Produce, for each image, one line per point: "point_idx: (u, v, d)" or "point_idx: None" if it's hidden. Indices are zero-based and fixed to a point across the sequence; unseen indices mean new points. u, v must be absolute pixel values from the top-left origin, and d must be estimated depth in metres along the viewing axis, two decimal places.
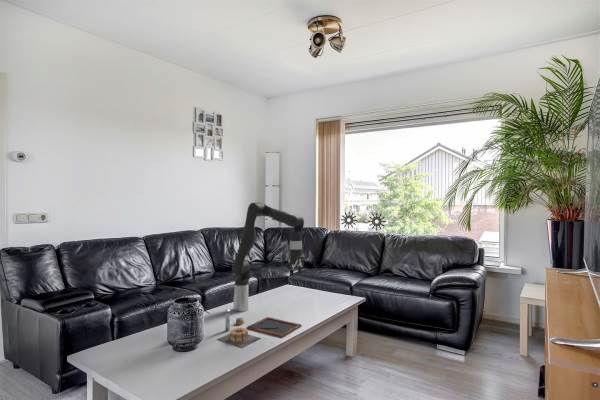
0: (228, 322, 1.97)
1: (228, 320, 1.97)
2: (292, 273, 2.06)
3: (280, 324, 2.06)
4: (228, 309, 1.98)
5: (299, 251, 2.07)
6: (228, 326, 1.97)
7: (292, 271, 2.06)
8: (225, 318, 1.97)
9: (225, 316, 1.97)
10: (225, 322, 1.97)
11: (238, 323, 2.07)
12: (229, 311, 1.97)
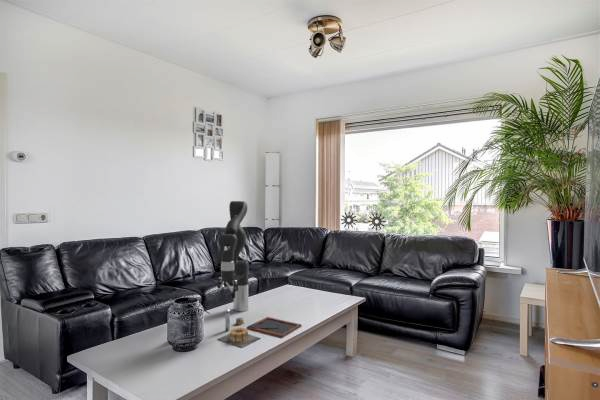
0: (228, 322, 1.97)
1: (228, 320, 1.97)
2: None
3: (280, 324, 2.06)
4: (228, 309, 1.98)
5: None
6: (228, 326, 1.97)
7: None
8: (225, 318, 1.97)
9: (225, 316, 1.97)
10: (225, 322, 1.97)
11: (238, 323, 2.07)
12: (229, 311, 1.97)
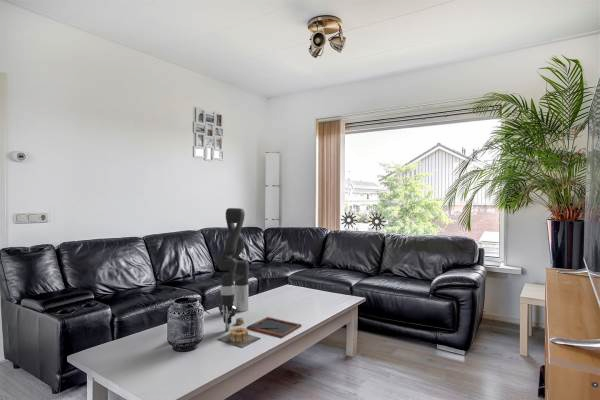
0: None
1: None
2: None
3: (280, 324, 2.06)
4: None
5: None
6: (228, 326, 1.97)
7: None
8: (225, 318, 1.97)
9: (225, 316, 1.97)
10: (225, 322, 1.97)
11: (238, 323, 2.07)
12: None
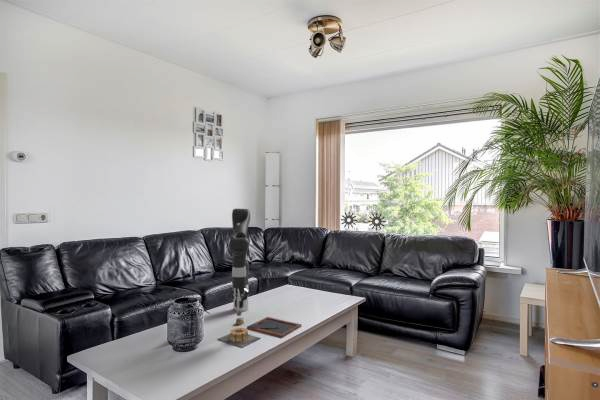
0: None
1: None
2: None
3: (280, 324, 2.06)
4: None
5: None
6: (240, 310, 1.85)
7: None
8: None
9: None
10: None
11: (238, 323, 2.07)
12: None
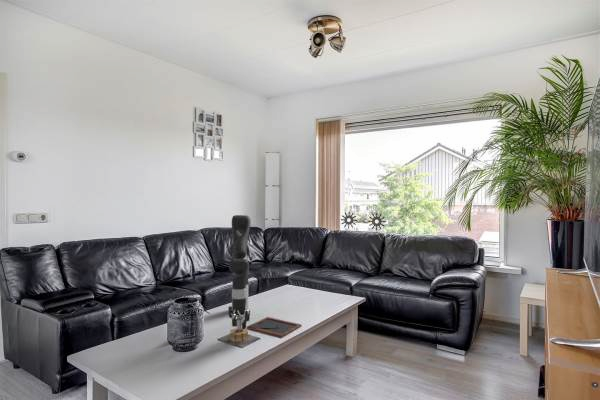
0: (240, 329, 1.85)
1: (240, 327, 1.85)
2: None
3: (280, 324, 2.06)
4: None
5: None
6: None
7: None
8: (237, 325, 1.85)
9: (237, 323, 1.85)
10: (237, 329, 1.85)
11: None
12: None
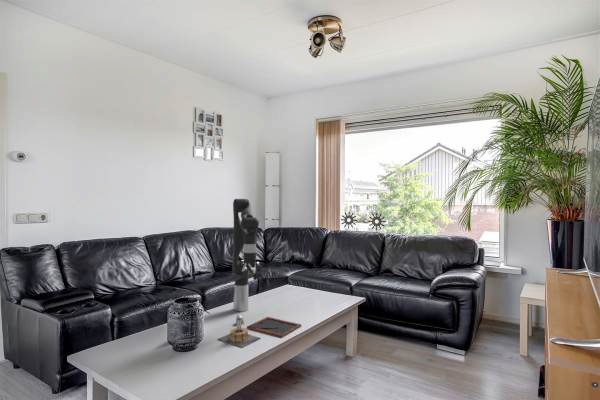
0: (239, 329, 1.85)
1: (239, 327, 1.85)
2: None
3: (280, 324, 2.06)
4: (239, 315, 1.86)
5: None
6: None
7: None
8: None
9: None
10: None
11: None
12: (240, 318, 1.85)
